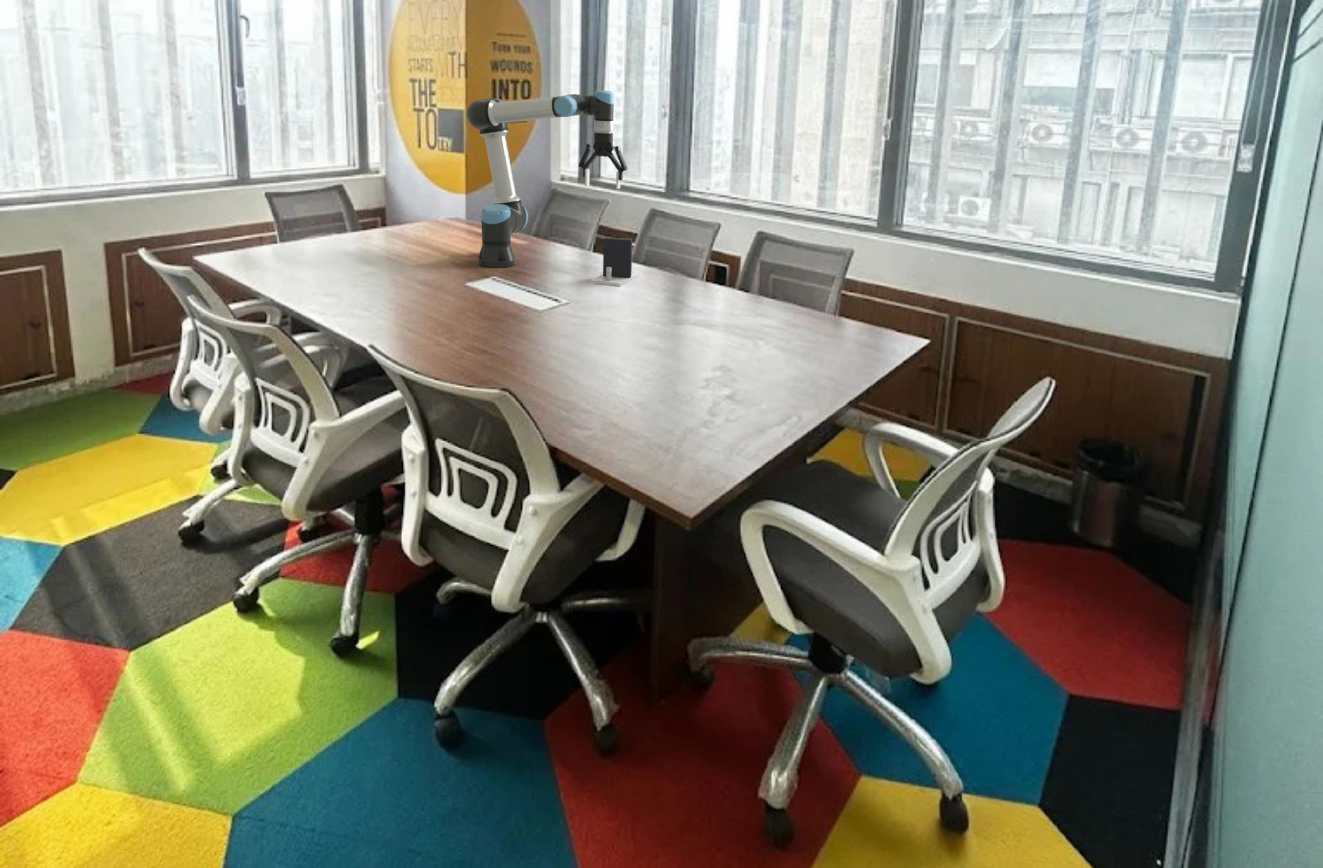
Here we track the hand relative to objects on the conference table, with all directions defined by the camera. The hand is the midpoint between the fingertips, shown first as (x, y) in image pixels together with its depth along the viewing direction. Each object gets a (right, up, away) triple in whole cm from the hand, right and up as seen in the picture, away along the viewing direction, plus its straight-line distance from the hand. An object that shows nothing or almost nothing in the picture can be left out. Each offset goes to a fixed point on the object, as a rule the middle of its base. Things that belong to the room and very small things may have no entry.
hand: (602, 187), depth 387 cm
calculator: (+6, -37, -8) cm, 39 cm away
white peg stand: (+6, -38, -7) cm, 39 cm away
